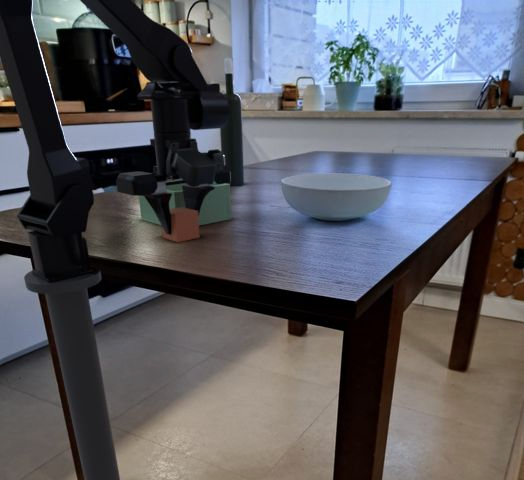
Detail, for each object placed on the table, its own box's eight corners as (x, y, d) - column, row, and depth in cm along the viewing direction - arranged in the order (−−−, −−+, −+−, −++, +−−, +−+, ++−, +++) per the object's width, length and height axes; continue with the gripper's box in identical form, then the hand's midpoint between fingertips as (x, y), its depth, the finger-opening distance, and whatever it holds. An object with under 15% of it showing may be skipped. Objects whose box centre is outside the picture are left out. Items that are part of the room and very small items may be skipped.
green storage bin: (177, 230, 93) (174, 192, 90) (141, 219, 101) (137, 184, 99) (231, 219, 101) (230, 184, 98) (193, 210, 109) (191, 177, 106)
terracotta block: (177, 242, 85) (175, 214, 83) (162, 237, 88) (160, 210, 86) (199, 237, 88) (197, 210, 86) (184, 233, 91) (182, 207, 89)
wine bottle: (240, 186, 138) (236, 57, 124) (220, 185, 139) (213, 57, 126) (246, 182, 143) (242, 58, 129) (226, 182, 144) (220, 59, 131)
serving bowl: (346, 234, 88) (349, 192, 85) (259, 217, 101) (258, 181, 98) (408, 215, 102) (412, 178, 99) (324, 202, 115) (325, 169, 112)
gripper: (147, 137, 70) (158, 251, 76) (251, 130, 81) (253, 230, 88) (108, 134, 77) (122, 238, 84) (208, 128, 88) (213, 220, 95)
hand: (180, 231), depth 87 cm, fingers closed on terracotta block, 4 cm apart
